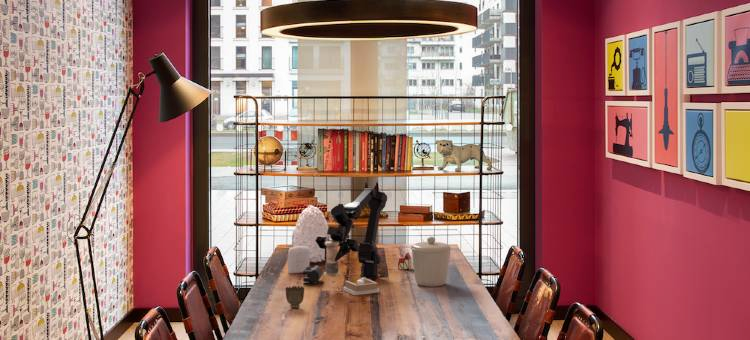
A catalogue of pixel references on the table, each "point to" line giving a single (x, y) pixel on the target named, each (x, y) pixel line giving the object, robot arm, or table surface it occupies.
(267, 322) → the table surface
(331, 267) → the bobbin
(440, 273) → the canister
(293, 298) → the cup
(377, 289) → the cream cradle stand
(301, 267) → the photo printer
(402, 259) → the toy house
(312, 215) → the rice ball
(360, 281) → the reel lid
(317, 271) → the end cap
